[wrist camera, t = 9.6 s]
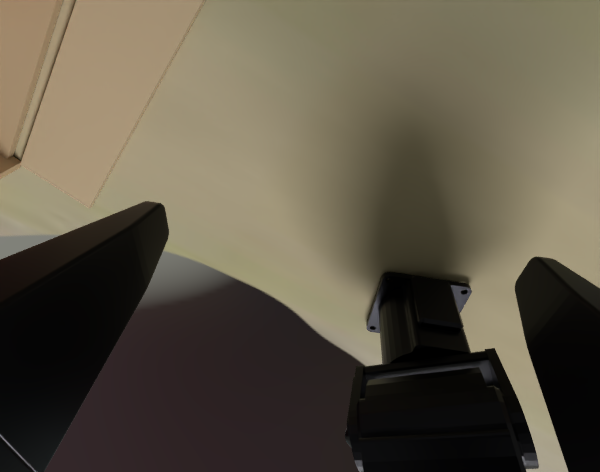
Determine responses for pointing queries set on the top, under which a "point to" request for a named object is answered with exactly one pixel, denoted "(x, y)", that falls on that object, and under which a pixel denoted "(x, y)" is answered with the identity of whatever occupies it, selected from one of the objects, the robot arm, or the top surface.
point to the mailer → (83, 83)
